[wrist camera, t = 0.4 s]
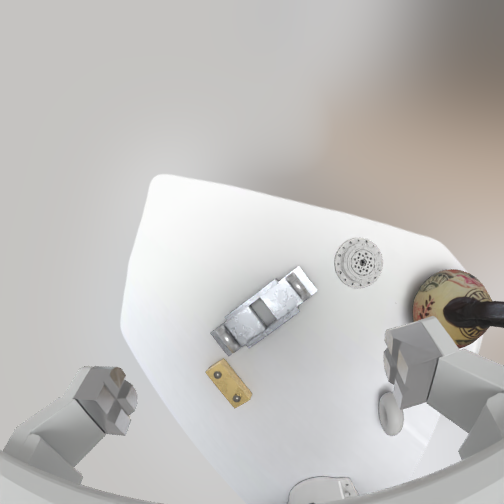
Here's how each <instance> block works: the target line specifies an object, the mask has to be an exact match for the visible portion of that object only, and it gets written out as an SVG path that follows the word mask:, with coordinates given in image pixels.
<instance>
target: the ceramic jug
mask: <svg viewBox="0 0 504 504" xmlns="http://www.w3.org/2000/svg"><path fill="white" fill-rule="evenodd" d="M395 304H396V303H395ZM431 316H434V317H436V318H437V319H438V321H439V322H440V323H441V325H442V326H443V327H444V329H445V330H446V331H447V333H448V334H449V336H450V337H451V338H452V340H453V341H454V343H455V344H456V345H457V347H458V348H463V347H465V346H467V345H469V344H471V343H473V342H474V341H476V340H477V339H478V338H479V337H480V336H481V335H483V334H484V333H485V331H486V330H487V329H488V328H489V327H490V326H495V327H503V328H504V302H498V301H492V300H491V298H490V296H489V294H488V293H487V291H486V289H485V287H484V286H483V285H482V283H481V282H480V281H479V280H478V279H476V278H475V277H474V276H473V275H471V274H470V273H467V272H464V271H461V270H454V269H453V270H452V269H451V270H444V271H440V272H438V273H436V274H434V275H433V276H431V277H430V278H429V279H428V280H426V281H425V283H424V284H423V285H422V286H421V287H420V289H419V291H418V293H417V295H416V297H415V299H414V304H413V320H414V322H416V321H418V320H421V319H424V318H428V317H431Z"/></svg>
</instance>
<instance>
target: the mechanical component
mask: <svg viewBox="0 0 504 504" xmlns="http://www.w3.org/2000/svg"><path fill="white" fill-rule="evenodd" d="M357 240H358V241H357ZM365 241H366V242H367V243H366V242H365ZM349 242H350V243H351V244H349ZM343 248H344V249H343ZM338 254H340V257H339V256H338ZM358 254H359V255H358ZM357 257H358V258H357ZM354 259H355V260H354ZM360 260H361V261H362V263H363V260H364V261H365V263H363V265H360V263H359V262H360ZM337 264H338V265H337ZM354 266H355V267H354ZM382 266H383V259H382V254H381V252H380V250H379V249H378V247H377V246H376V245H375V244H374V243H373V242H372V241H370V240H368V239H364V238H353V239H351V240H349V241H347V242H345V243H344V244H343V245H342V246H341V247H340V248H339V250H338V251H337V254H336V257H335V270H336V272H337V275H338V277H339V278H340V279H341V280H342V282H343V283H345V284H347V285H348V286H351V287H354V288H364V287H367V286H370V285H371V284H373V283H374V282H375V281H376V280H377V279H378V277H379V276H380V274H381V271H382ZM362 269H363V270H362ZM359 270H360V272H359ZM339 271H340V272H341V273H340V274H339ZM344 279H345V280H344ZM367 282H368V284H367ZM351 283H353V284H352V285H351Z"/></svg>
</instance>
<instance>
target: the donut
mask: <svg viewBox="0 0 504 504" xmlns="http://www.w3.org/2000/svg"><path fill="white" fill-rule="evenodd" d="M379 415H380V421H381V425H382V428H383V430H384V432H385V433H386V434H387V435H390V436H395V435H397V434H398V433H399V432H400V431H401V430H402V427H403V421H404V416H403V409H402V410H400V409H399V407H398V404H397V402H396V399H395V396H394V394H393V392H388V393H385V394H384V395H382V397H381V399H380V402H379Z"/></svg>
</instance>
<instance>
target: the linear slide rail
mask: <svg viewBox="0 0 504 504" xmlns="http://www.w3.org/2000/svg"><path fill="white" fill-rule="evenodd" d="M317 291H318V290H317V289H316V288H315V286H314V285H313V284H312V282H311V281H310V280H309V279H308V277H307V276H306V275H305V273H304V272H303V271H302V269H301V268H300V267H299V266H298V267H297V268H295V269H294V270H293V271H292V272H290V273H289V274H288V275H286V276H285V277H284V278H283V279H281V280H280V281H278V280H277V279H274V280H273V281H272V282H270V283H269V284H268V285H267V286H265V287H264V288H263V289H261V290H260V291H259V292H257V293H256V294H255V295H253V296H252V297H251V298H249V299H248V300H247V301H246V302H244V303H243V304H242V305H240V306H239V307H238V308H236V309H235V310H234V311H232V312H231V313H230V314H228V315H227V316H226V317H225V318H226V320H227V321H226V322H224V323H223V324H222V325H220V326H219V327H217V328H216V329H215V330H213V331H212V332H211V335H212V336H213V337H214V339H215V340H216V341H217V343H218V344H219V345H220V347H221V348H222V349H223V350H224V352H225V353H226V354H227V355H228V356H230V355H231V354H233V353H234V352H236V351H237V350H238V349H240V348H241V347H243V346H244V345H245V344H246V346H247V347H248V348H250V347H252V346H253V345H255V344H256V343H257V342H259V341H260V340H262V339H263V338H264V337H266V336H267V335H269V334H270V333H271V332H273V331H274V330H276V329H277V328H278V327H280V326H281V325H282V324H284V323H285V322H286V321H288V320H289V319H290V318H292V317H293V316H294V315H296V314H297V313H298V312H300V310H299V307H298V306H299V305H300V304H301V303H303V302H304V301H305V300H307V299H308V298H309V297H310V296H312V295H313V294H314V293H316V292H317ZM258 298H261V299H262V300H263V302H264V303H265V304H266V305H267V307H268V308H269V309H270V311H271V312H272V313H273V314H274V316H275V317H276V318H277V319H276V320H275V321H274V322H272V323H271V324H269V325H268V326H267V327H266V325H265V324H264V323H263V322H262V320H261V319H260V318H259V316H258V315H257V314H256V312H255V311H254V310H253V309H252V307H251V306H250V304H252V303H253V302H254V301H256V300H257V299H258Z"/></svg>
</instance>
